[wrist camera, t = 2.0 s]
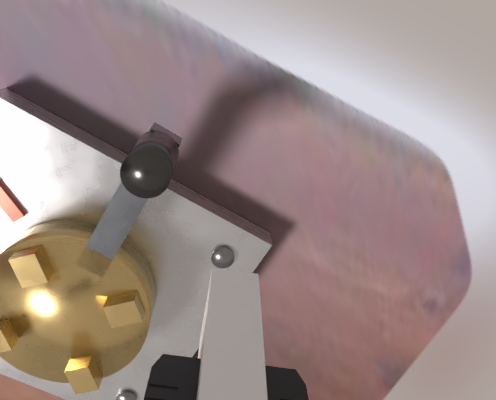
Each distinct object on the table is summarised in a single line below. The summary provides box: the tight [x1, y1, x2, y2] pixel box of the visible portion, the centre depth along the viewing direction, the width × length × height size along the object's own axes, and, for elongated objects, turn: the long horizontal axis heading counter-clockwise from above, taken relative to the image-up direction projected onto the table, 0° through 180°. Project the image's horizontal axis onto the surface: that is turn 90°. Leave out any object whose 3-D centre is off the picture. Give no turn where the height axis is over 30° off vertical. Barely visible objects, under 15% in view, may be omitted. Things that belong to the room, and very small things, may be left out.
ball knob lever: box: [0, 123, 182, 395], centre depth 28 cm, size 20×11×7 cm, turn 148°
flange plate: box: [0, 88, 272, 400], centre depth 34 cm, size 20×20×2 cm
